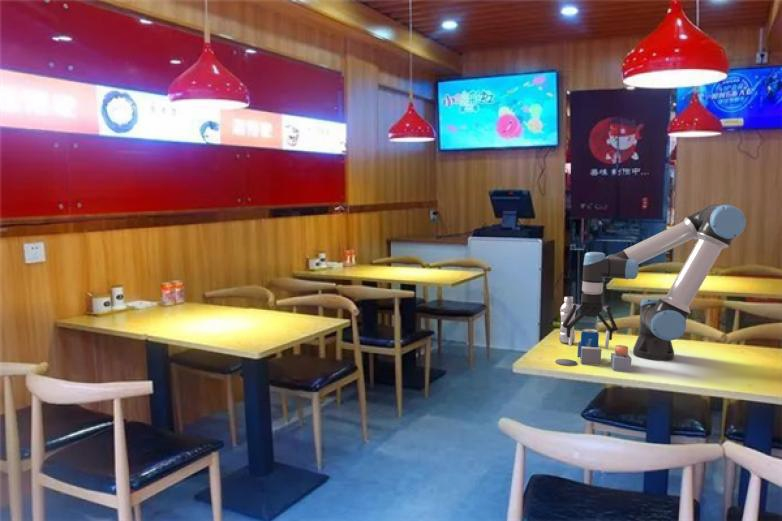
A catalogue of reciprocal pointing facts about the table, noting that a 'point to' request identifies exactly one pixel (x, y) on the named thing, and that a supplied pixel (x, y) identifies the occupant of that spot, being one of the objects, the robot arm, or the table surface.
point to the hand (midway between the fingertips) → (588, 346)
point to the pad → (566, 362)
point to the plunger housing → (620, 362)
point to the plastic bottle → (564, 313)
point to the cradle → (589, 354)
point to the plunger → (621, 350)
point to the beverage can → (589, 338)
